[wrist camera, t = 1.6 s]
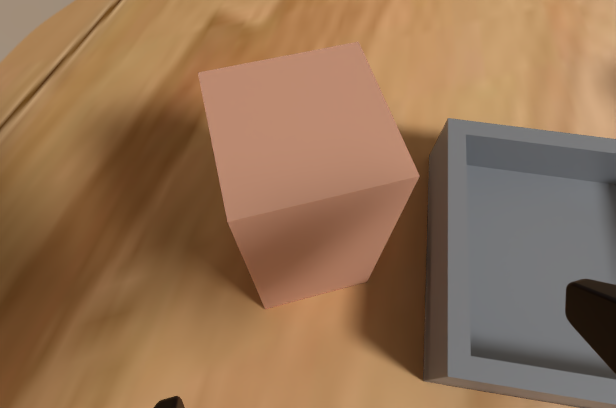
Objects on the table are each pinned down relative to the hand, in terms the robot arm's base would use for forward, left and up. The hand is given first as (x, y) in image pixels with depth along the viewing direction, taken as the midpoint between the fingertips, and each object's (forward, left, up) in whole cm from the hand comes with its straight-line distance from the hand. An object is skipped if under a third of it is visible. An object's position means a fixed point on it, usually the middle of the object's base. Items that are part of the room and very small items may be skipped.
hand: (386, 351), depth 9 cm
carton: (+5, -5, -13) cm, 15 cm away
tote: (-8, -11, -13) cm, 19 cm away
